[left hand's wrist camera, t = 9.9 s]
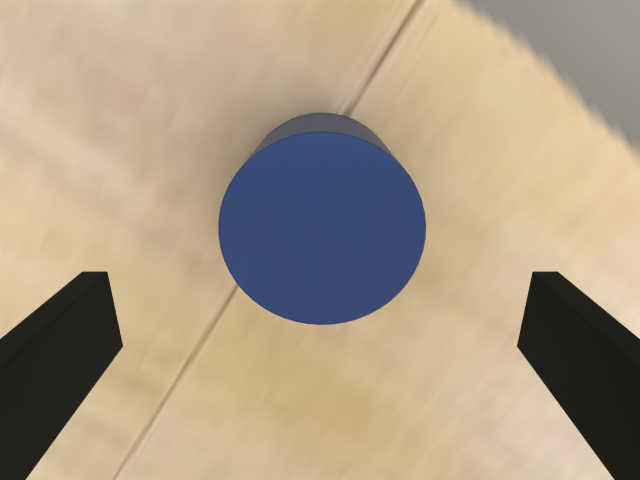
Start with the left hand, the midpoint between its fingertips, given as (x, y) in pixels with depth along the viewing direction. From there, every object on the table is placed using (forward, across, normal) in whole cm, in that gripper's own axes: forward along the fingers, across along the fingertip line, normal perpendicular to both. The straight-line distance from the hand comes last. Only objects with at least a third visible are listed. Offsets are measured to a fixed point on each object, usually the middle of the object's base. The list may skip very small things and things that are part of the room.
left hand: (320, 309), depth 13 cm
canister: (+13, 0, 0) cm, 13 cm away
